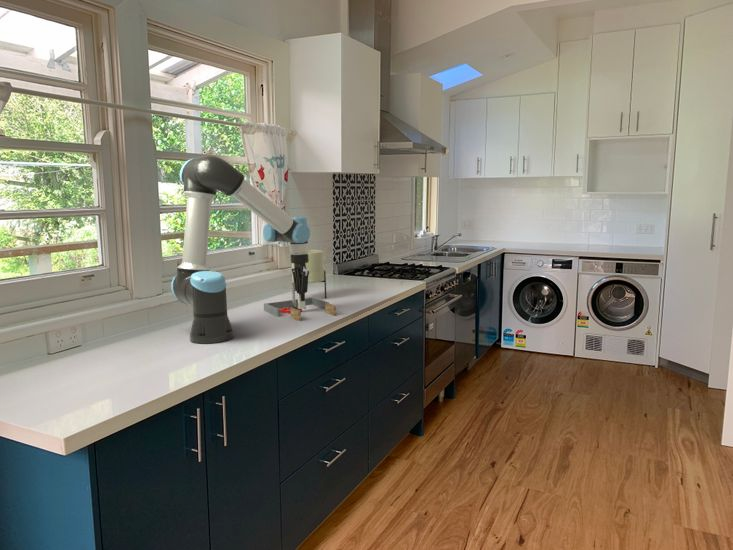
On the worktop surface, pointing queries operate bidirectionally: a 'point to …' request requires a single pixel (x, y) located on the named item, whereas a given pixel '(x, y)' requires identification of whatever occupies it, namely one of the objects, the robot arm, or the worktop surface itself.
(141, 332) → the worktop surface
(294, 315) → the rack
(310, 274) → the planter
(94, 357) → the worktop surface
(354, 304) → the worktop surface
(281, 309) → the tow hook
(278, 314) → the grey piece
